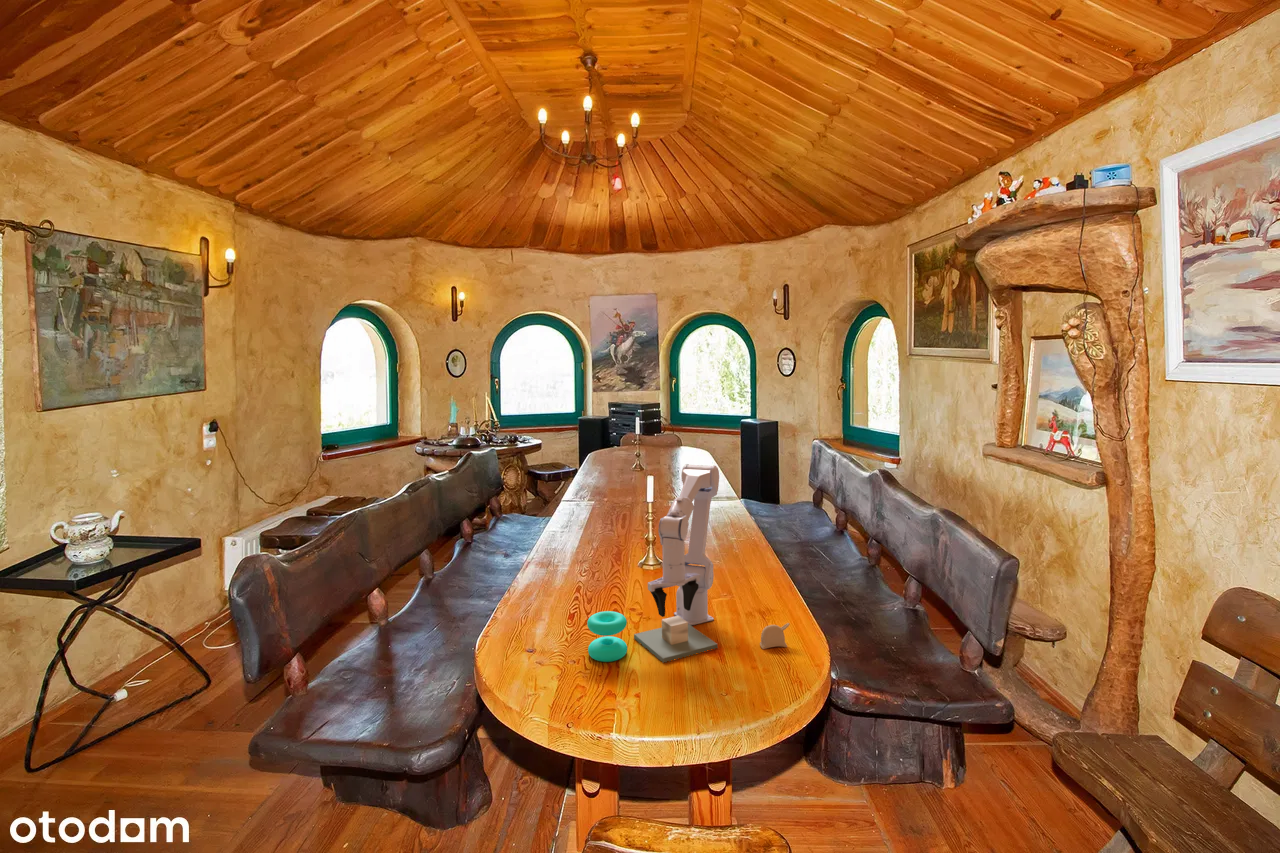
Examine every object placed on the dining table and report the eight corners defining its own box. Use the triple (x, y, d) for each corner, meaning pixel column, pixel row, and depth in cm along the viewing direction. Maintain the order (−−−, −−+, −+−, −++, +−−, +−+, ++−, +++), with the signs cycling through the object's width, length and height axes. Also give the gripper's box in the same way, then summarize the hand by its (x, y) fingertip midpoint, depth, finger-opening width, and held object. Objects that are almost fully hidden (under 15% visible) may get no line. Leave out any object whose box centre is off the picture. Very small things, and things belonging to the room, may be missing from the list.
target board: (634, 638, 180) (634, 634, 180) (685, 625, 188) (685, 621, 187) (663, 663, 166) (663, 658, 166) (717, 648, 173) (717, 644, 173)
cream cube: (661, 637, 178) (661, 619, 177) (678, 633, 180) (678, 615, 179) (671, 644, 173) (671, 626, 173) (688, 640, 176) (687, 622, 175)
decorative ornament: (757, 642, 176) (757, 623, 176) (787, 640, 178) (787, 620, 177) (761, 649, 172) (761, 629, 172) (793, 647, 174) (793, 627, 173)
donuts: (634, 617, 170) (602, 628, 163) (635, 655, 171) (604, 667, 164) (610, 606, 177) (579, 616, 171) (611, 642, 178) (580, 654, 172)
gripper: (656, 571, 167) (657, 623, 169) (705, 561, 174) (706, 611, 176) (643, 563, 174) (644, 613, 175) (691, 554, 180) (692, 602, 182)
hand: (674, 612), depth 176 cm, fingers open, 7 cm apart
